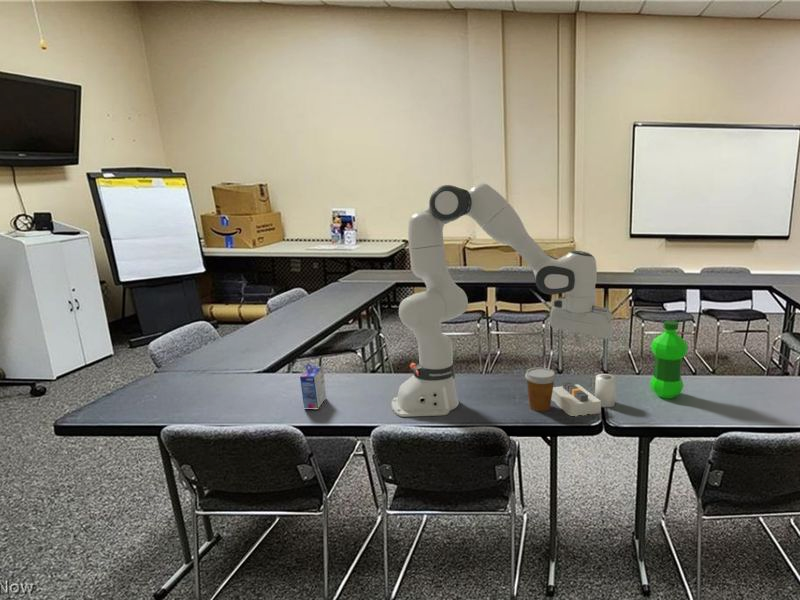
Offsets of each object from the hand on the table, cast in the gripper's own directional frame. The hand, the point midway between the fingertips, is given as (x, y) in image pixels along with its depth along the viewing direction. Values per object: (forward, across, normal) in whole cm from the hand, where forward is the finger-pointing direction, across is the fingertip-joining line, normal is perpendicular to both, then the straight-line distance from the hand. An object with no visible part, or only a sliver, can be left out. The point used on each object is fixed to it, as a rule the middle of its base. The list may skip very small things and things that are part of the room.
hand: (579, 346), depth 162 cm
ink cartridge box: (+20, +61, +63) cm, 90 cm away
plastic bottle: (+20, -15, -27) cm, 37 cm away
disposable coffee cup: (+20, +8, +10) cm, 24 cm away
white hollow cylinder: (+20, -5, -8) cm, 22 cm away
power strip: (+20, +4, -1) cm, 20 cm away
